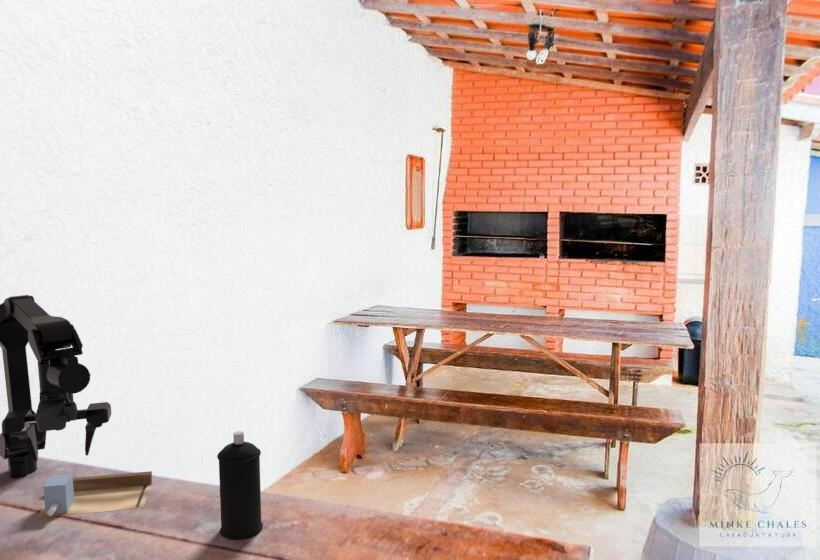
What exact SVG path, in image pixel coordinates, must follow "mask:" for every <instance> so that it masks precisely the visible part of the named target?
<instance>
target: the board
mask: <svg viewBox="0 0 820 560" xmlns="http://www.w3.org/2000/svg"><path fill="white" fill-rule="evenodd" d="M152 484H153V471H152V470H151V471H138V472H128V473H117V474H116V473H115V474H104V475H90V476H89V475H88V476H79V477H73V489H74V502H73V504H72V506H71V507H70V509H69V511H68V512H67V513H58V514H53V515H52V516H49V515H46V512H45V504H44V505H43V507H42V508H41V510H40V511H39V513H38V514H37V515H36V517H35V519H41V518H51V517H63V516H72V515H82V514H84V515H85V514H94V513H96V514H97V513H104V512H116V511H126V510H139V509H143V508H144V505H145V503H146V500H147V498H148V495H149V493H150V489H151V487H152Z"/></svg>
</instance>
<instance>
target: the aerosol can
mask: <svg viewBox="0 0 820 560" xmlns="http://www.w3.org/2000/svg"><path fill="white" fill-rule="evenodd" d="M261 453H262V451H261V450H260V448H259V447H257V446H256V445H255V444H253V443H252V442H248V441H245V433H244V431H242V430H241V431H240V430H239V431H234V432H233V442H231V443H228V444H227V445H225V446H224V447H223V448H222V449H221V450H220V451H219V452H218V453H217V455H216V457H217V460H218V468H219V469H218V475H219V504H220V528H219V532H220V535H221V536H222V537H223V538H224V539H225V538H226V539H228V540H233V541H241V540H242V541H243V540H247V539H250V538H253V537H254V536H257V535H258V534H259V533H260V532H261V531H262V529H263V528H264V527H263V526H264V525H263V522H262V502H261V501H262V499H261V498H262V497H261V492H262V491H261V458H260V457H261Z"/></svg>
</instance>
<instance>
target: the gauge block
mask: <svg viewBox="0 0 820 560" xmlns="http://www.w3.org/2000/svg"><path fill="white" fill-rule="evenodd" d="M73 476H74V475H73V473H69V474H58V475H57V474H56V475H51V476H50V477H49V478H48V480H47V481H46V483H45V484H44V485H43V496H44V497H43V498H44V499H43V500H44V505H45V512H46V515H49V516H52V515H53V514H58V513H67V512H68V511H69V509H70V507H71V506H72V504H73V502H74V489H73V478H74V477H73Z"/></svg>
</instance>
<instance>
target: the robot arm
mask: <svg viewBox="0 0 820 560" xmlns="http://www.w3.org/2000/svg"><path fill="white" fill-rule="evenodd" d="M28 344H29V346H30V348H31V351H32V353H33V354H34V357H35V359H36V361H37V370H38V382H39V402H38V406H37V408H36V409H37V410H36V411H34V410H33V402H32V395H31V393H32V392H31V384H30V378H29V377H30V375H29V365H28V356H27V345H28ZM83 346H84V345H83V343H82V340H81V338H80V336H79V334H78V332H77V330H76V328H75V326H74V325H73V324H72V323H71V321H70V320H69V319H66V318H65V317H63V316H55V315H54V316H52V315H50V314H49V313H48V312H47V311H45V309H44V308H42V306H41V305H39V304H38V303H37V302H36V301H35V297H34V296H33V295H29V294H21V295H14V296H9V297H7V298H6V297H5V299H4V300H3V302H2V303H0V348H1V352H2V353H1V354H2V363H3V371H4V372H3V373H4V380H5V389H6V398H7V410H8V411H7V414H6V415H5V417H4V419H3V420H2V422H1V433H0V457H1V458H2V459H3V460H7V466H8V467H7V468H8V475H9V476H10V479H21V478H23V479H24V478H25V477H27V476H28V475H31V474H33V473H35V472H36V471H37V470H38V460H39V451H40V450H44V449H45V448H46V442H47V441H46V440H47V432H48V431H62V430H64V429H66V427H67V423H70V422H71V421H76V420H86V425H85V427H84V428H85V441H84V443H85V444H84V453H85V456H87V457H88V456H89V454H90V450H91V446H92V442H93V439H94V435H95V432H96V430H97V428H101V427H102V426H103V425H104V424H107V423H109V421H110V419H111V417H112V406H111V403H109V402H108V401H103V402H95V403H93V402H92V403H89V405H88V407H87V408H86V409H84V408H83V409H78V405H77V403H76V402H75V401H74V394H78V393H81V392H82V391H83V390H85V389H86V388H87V387H88V385H89V383H90V381H91V372H90V370H89V369H88V368H87V366H85V365H83V364H81V363H79V358H78V357H77V356H81V355H83V353H84V352H83V350H82V349H83ZM39 468H40V469H41V468H43V467H42V466H41V467H39Z"/></svg>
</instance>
